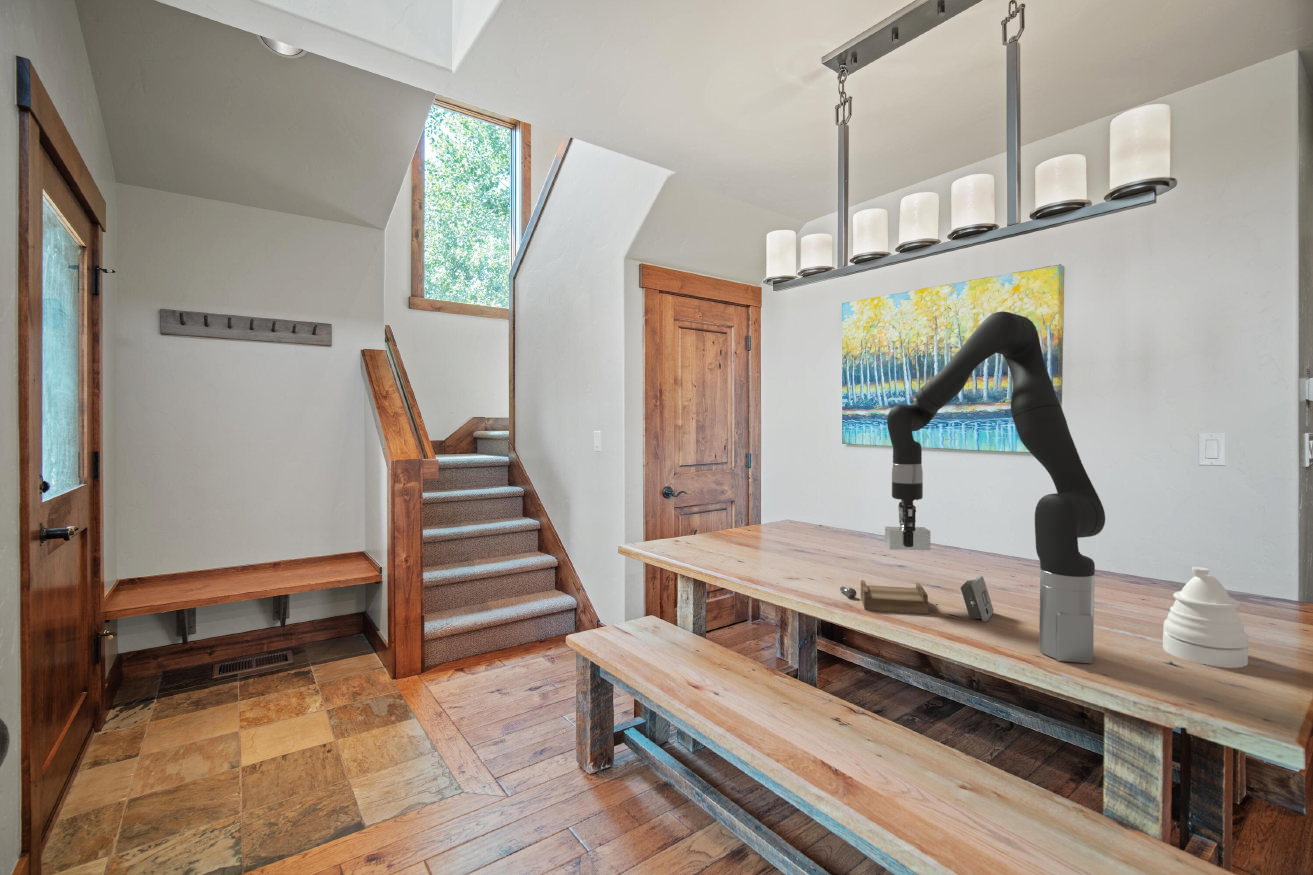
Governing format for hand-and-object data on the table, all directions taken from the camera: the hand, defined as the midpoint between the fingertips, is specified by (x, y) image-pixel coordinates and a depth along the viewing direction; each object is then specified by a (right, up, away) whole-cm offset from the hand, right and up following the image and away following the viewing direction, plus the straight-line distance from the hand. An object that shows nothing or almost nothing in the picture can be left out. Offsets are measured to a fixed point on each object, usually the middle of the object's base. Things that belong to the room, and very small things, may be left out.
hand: (907, 543), depth 159 cm
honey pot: (+46, -16, -36) cm, 60 cm away
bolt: (-14, -15, +7) cm, 22 cm away
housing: (0, -1, 0) cm, 1 cm away
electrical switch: (+13, -16, -11) cm, 23 cm away
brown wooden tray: (-5, -15, -2) cm, 16 cm away
